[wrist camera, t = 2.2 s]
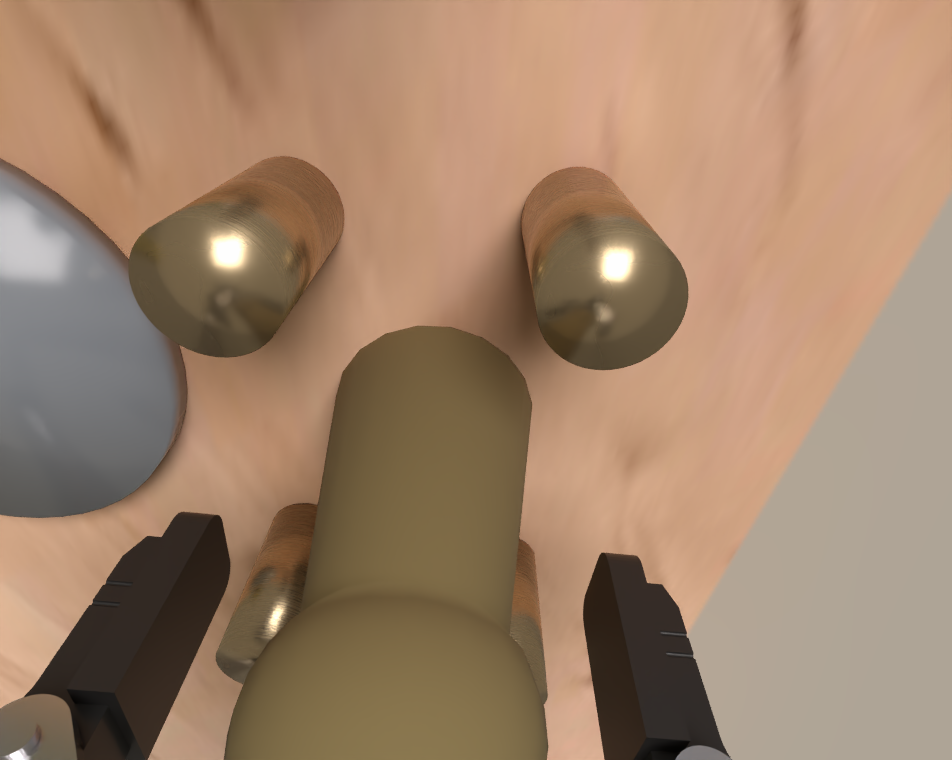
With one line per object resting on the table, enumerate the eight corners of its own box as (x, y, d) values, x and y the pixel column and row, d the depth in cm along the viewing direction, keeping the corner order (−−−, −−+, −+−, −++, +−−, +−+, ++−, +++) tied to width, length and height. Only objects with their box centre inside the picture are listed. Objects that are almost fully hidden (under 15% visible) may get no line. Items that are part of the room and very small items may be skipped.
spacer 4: (558, 289, 15) (587, 393, 11) (500, 212, 14) (506, 293, 10) (644, 230, 14) (714, 318, 10) (590, 142, 13) (641, 199, 9)
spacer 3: (493, 590, 22) (494, 727, 17) (450, 554, 21) (441, 691, 16) (548, 563, 21) (564, 700, 17) (507, 524, 20) (513, 660, 15)
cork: (560, 451, 18) (641, 909, 9) (396, 506, 19) (314, 950, 10) (483, 292, 15) (477, 726, 6) (296, 371, 16) (49, 820, 7)
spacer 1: (295, 280, 15) (220, 381, 11) (216, 202, 14) (98, 279, 10) (365, 220, 14) (313, 304, 10) (287, 132, 13) (190, 183, 9)
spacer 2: (311, 563, 21) (267, 698, 17) (257, 524, 20) (196, 658, 16) (360, 534, 20) (327, 669, 16) (307, 492, 19) (256, 625, 15)
